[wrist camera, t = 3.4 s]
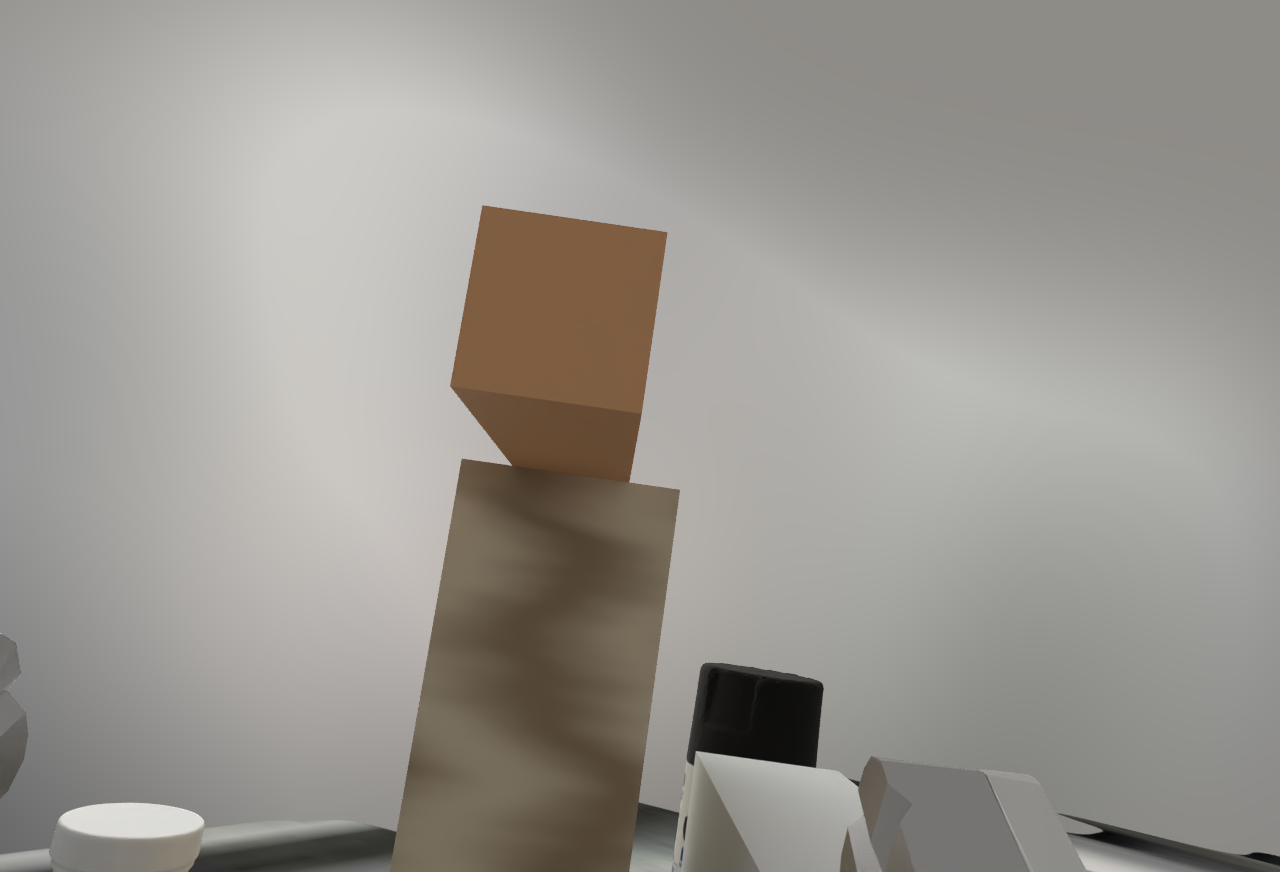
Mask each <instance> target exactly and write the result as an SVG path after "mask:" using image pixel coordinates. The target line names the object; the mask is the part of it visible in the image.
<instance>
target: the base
mask: <svg viewBox="0 0 1280 872" xmlns="http://www.w3.org/2000/svg"><path fill="white" fill-rule="evenodd" d="M863 815H864V813H863V809H862V805H861V801H860V797H859V793H858V787H857V786H856V785H855V784H853V783H852V782H851V781H850V780H848V779H847V778H846V777H844V776H843V775H842V774H841V773H839V772H838V771H833V770H826V769H819V768H812V767H805V766H798V765H790V764H783V763H776V762H769V761H762V760H755V759H748V758H741V757H734V756H726V755H719V754H712V753H705V752H698V751H696V754H695V762H694V770H693V778H692V786H691V794H690V802H689V810H688V818H687V826H686V834H685V842H684V850H683V858H682V866H681V872H840V862H841V854H842V849H843V845H844V841H845V837H846V832H847V828H848V827H849V826H850V825H852V824H853V823H854V822H855V821H857V820H858V819H859V818H861V817H862V816H863Z"/></svg>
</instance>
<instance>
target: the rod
mask: <svg viewBox="0 0 1280 872" xmlns="http://www.w3.org/2000/svg"><path fill="white" fill-rule="evenodd" d="M666 238H667V232H661V231H654V230H647V229H640V228H634V227H627V226H620V225H613V224H607V223H600V222H593V221H586V220H579V219H572V218H565V217H558V216H552V215H545V214H538V213H531V212H524V211H517V210H510V209H503V208H497V207H490V206H482V211H481V217H480V222H479V228H478V233H477V239H476V245H475V250H474V256H473V261H472V267H471V273H470V278H469V284H468V290H467V295H466V301H465V307H464V312H463V317H462V323H461V329H460V334H459V340H458V345H457V351H456V357H455V362H454V369H453V373H452V379H451V385H450V386H451V388H452V389H453V390H454V392H455V393H456V394H457V395H458V397H459V398H460V399H461V400H462V402H463V403H464V404H465V406H466V407H467V408H468V409H469V411H470V412H471V413H472V415H473V416H474V417H475V418H476V419H477V421H478V422H479V423H480V425H481V426H482V427H483V429H484V430H485V431H486V432H487V433H488V435H489V436H490V437H491V439H492V440H493V441H494V443H495V444H496V445H497V446H498V448H499V449H500V450H501V452H502V453H503V454H504V455H505V457H506V458H507V459H508V461H509V462H510V463H511V464H512V466H516V467H523V468H530V469H537V470H544V471H551V472H558V473H565V474H572V475H579V476H586V477H593V478H600V479H607V480H614V481H621V482H628V483H629V480H630V475H631V469H632V464H633V458H634V453H635V447H636V442H637V436H638V431H639V425H640V420H641V413H642V407H643V400H644V393H645V386H646V379H647V372H648V365H649V358H650V351H651V344H652V337H653V330H654V323H655V322H654V321H655V316H656V309H657V301H658V295H659V287H660V280H661V272H662V266H663V259H664V252H665V245H666Z"/></svg>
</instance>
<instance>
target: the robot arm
mask: <svg viewBox="0 0 1280 872" xmlns="http://www.w3.org/2000/svg"><path fill="white" fill-rule="evenodd" d="M20 674H21V670H20V664H19V658H18V652H17V646H16V643H15V642H14V641H12V640H11V639H9V638H8V637H6V636H5V635H3V634H1V633H0V799H1V797H2V796H3V795H4V794H5V793H6V792H7V791H8V789H9V787H10V786H11V784H12V782H13V780H14V778H15V776H16V774H17V772H18V770H19V768H20V766H21V764H22V762H23V760H24V754H25V748H26V743H27V737H28V732H27V721H26V713H25V711H24V710H23V709H22V708H21V707H20V705H19V704H18V703H17V702H16V700H15V699H14V698H13V697H12V696H11V694H10V693H9V692H8V691H7V690H8V689H9V687H10V686H11V685H12V684H13V682H14V681H15V680H16V679H17V678H18V676H19V675H20ZM858 793H859V797H860V801H861V805H862V809H863V813H864V815H863V816H862V817H861V818H859V819H858V820H857V821H855V822H854V823H853V824H852V825H850V826H849V827H848V828H847V832H846V837H845V841H844V845H843V849H842V854H841V862H840V872H1087V871H1086V869H1085V867H1084V865H1083V863H1082V861H1081V859H1080V858H1079V856H1078V854H1077V852H1076V850H1075V848H1074V846H1073V845H1072V843H1071V841H1070V839H1069V837H1068V835H1067V833H1066V831H1065V830H1064V828H1063V826H1062V824H1061V822H1060V820H1059V818H1058V817H1057V815H1056V813H1055V811H1054V809H1053V807H1052V805H1051V803H1050V801H1049V800H1048V798H1047V796H1046V794H1045V792H1044V790H1043V788H1042V786H1041V785H1040V783H1039V782H1038V781H1037V780H1035V779H1034V778H1033V777H1032V776H1030V775H1027V774H1019V773H1009V772H1001V771H992V770H983V769H976V770H968V769H961V768H953V767H946V766H939V765H931V764H924V763H916V762H909V761H901V760H894V759H887V758H879V757H871V758H870V760H869V761H868V763H867V765H866V766H865V768H864V771H863V774H862V778H861V781H860V785H859V788H858Z"/></svg>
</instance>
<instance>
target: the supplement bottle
mask: <svg viewBox="0 0 1280 872" xmlns="http://www.w3.org/2000/svg"><path fill="white" fill-rule="evenodd" d="M203 831H204V820H203V819H202V818H201V817H200V816H199V815H197V814H196V813H193V812H190V811H188V810H185V809H180V808H176V807H171V806H165V805H157V804H146V803H108V804H99V805H91V806H86V807H81V808H77V809H74V810H71V811H68V812H67V813H65V814H63V815H62V816H61V817H60V819H59V820H58V823H57V826H56V830H55V834H54V837H53V841H52V844H51V847H50V851H49V854H50V857H51V858H52V859H51V866H52V868H53V869H54V870H53V872H188V870H189V869H190V868H191V867H192V866H193V864H194V860H195V859H196V858H197V856H198V854H199V851H200V846H201V841H202V836H203Z"/></svg>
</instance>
